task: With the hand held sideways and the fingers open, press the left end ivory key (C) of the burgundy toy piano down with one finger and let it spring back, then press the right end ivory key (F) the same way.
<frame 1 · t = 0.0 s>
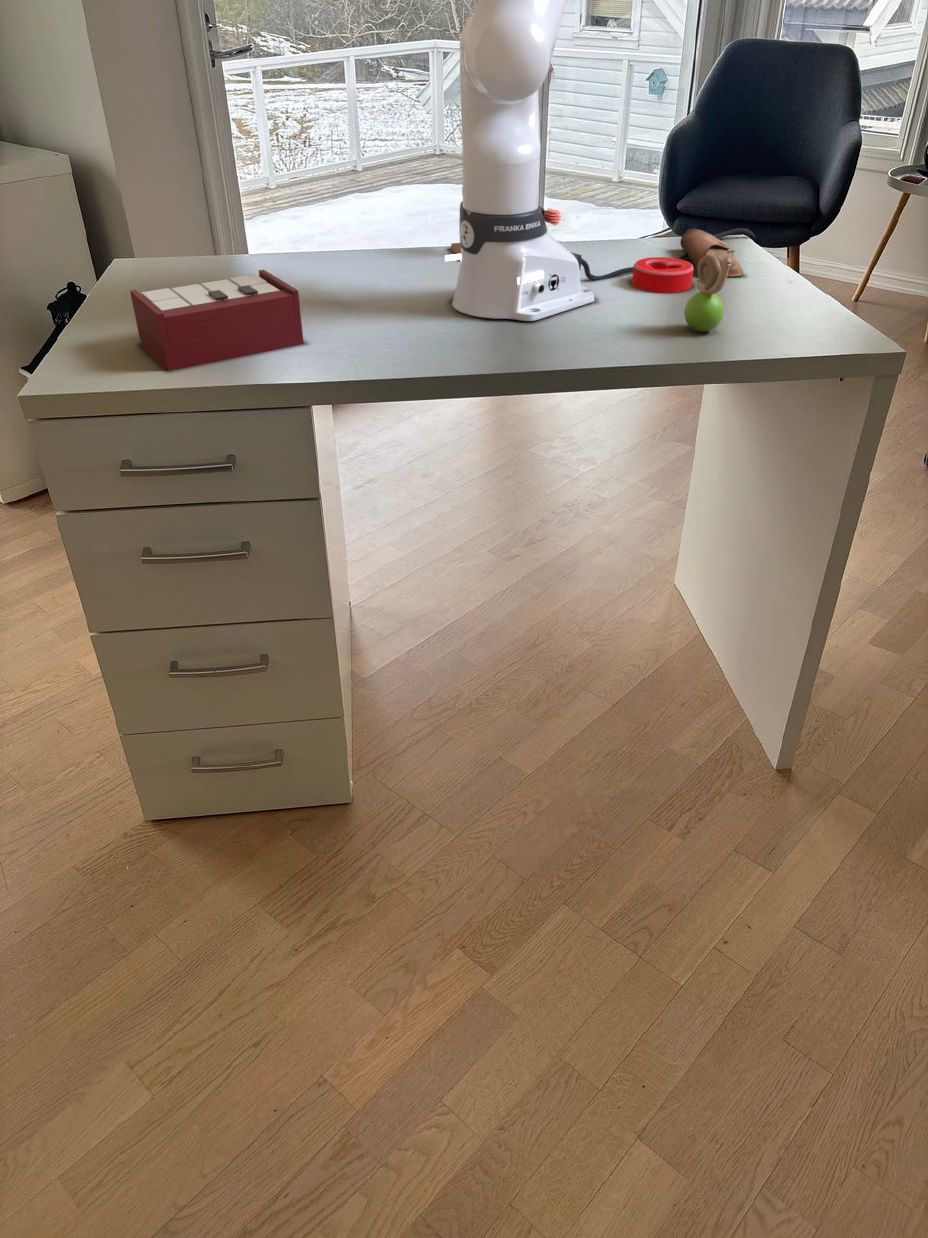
snail figurine: (703, 332, 134), on the table
decorative ornament: (661, 285, 153), on the table
toy piano: (222, 344, 129), on the table
sunglasses case: (710, 264, 163), on the table
c key: (249, 284, 131), point 6 cm above the table, slide at 0.1 cm
gingerbread man figurine: (466, 255, 168), on the table
f key: (160, 299, 126), point 6 cm above the table, slide at 0.1 cm
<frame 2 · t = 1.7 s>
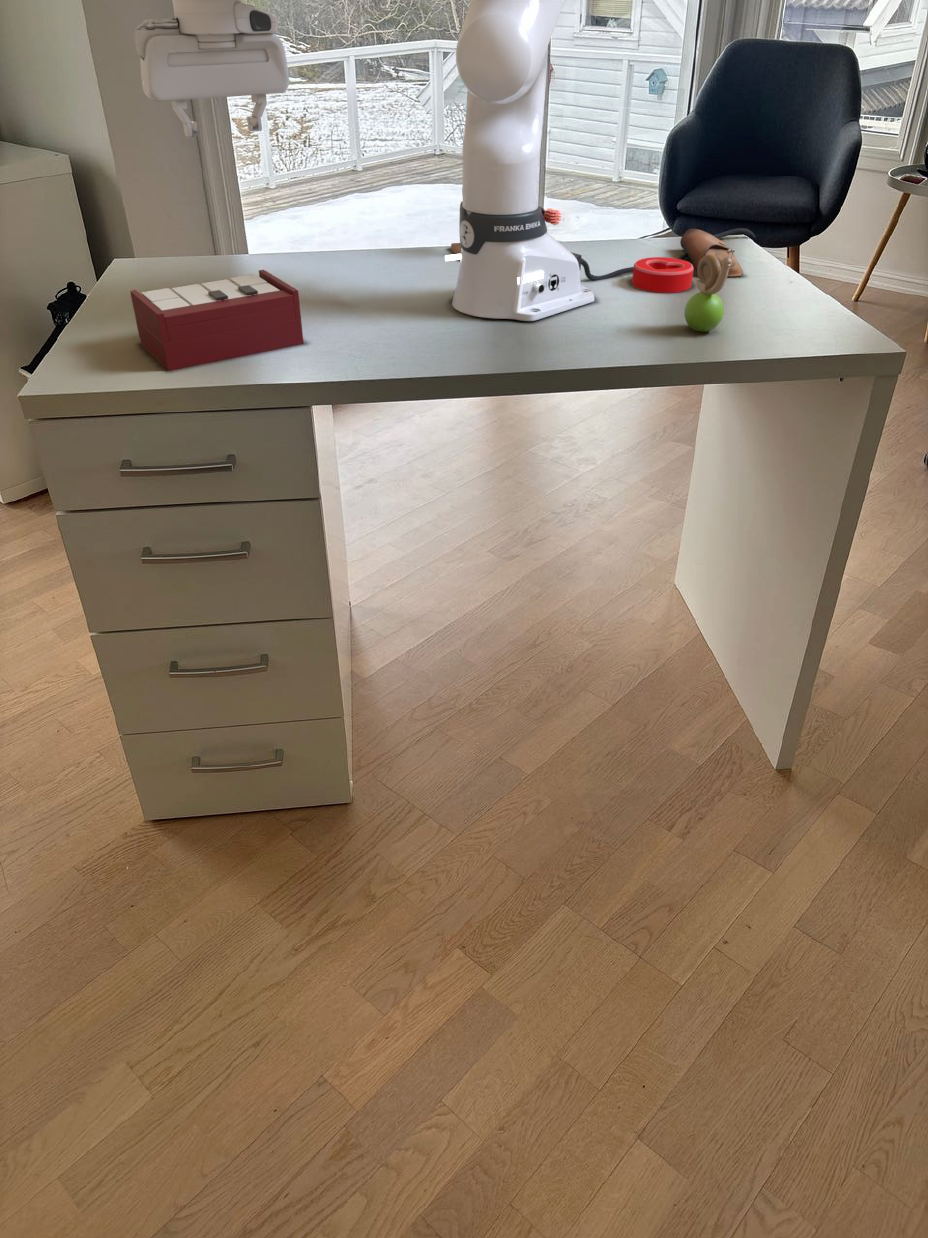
hand: (224, 133, 132), 23 cm above the table, tool pointing down, fingers open, 8 cm apart
nothing on the table moved.
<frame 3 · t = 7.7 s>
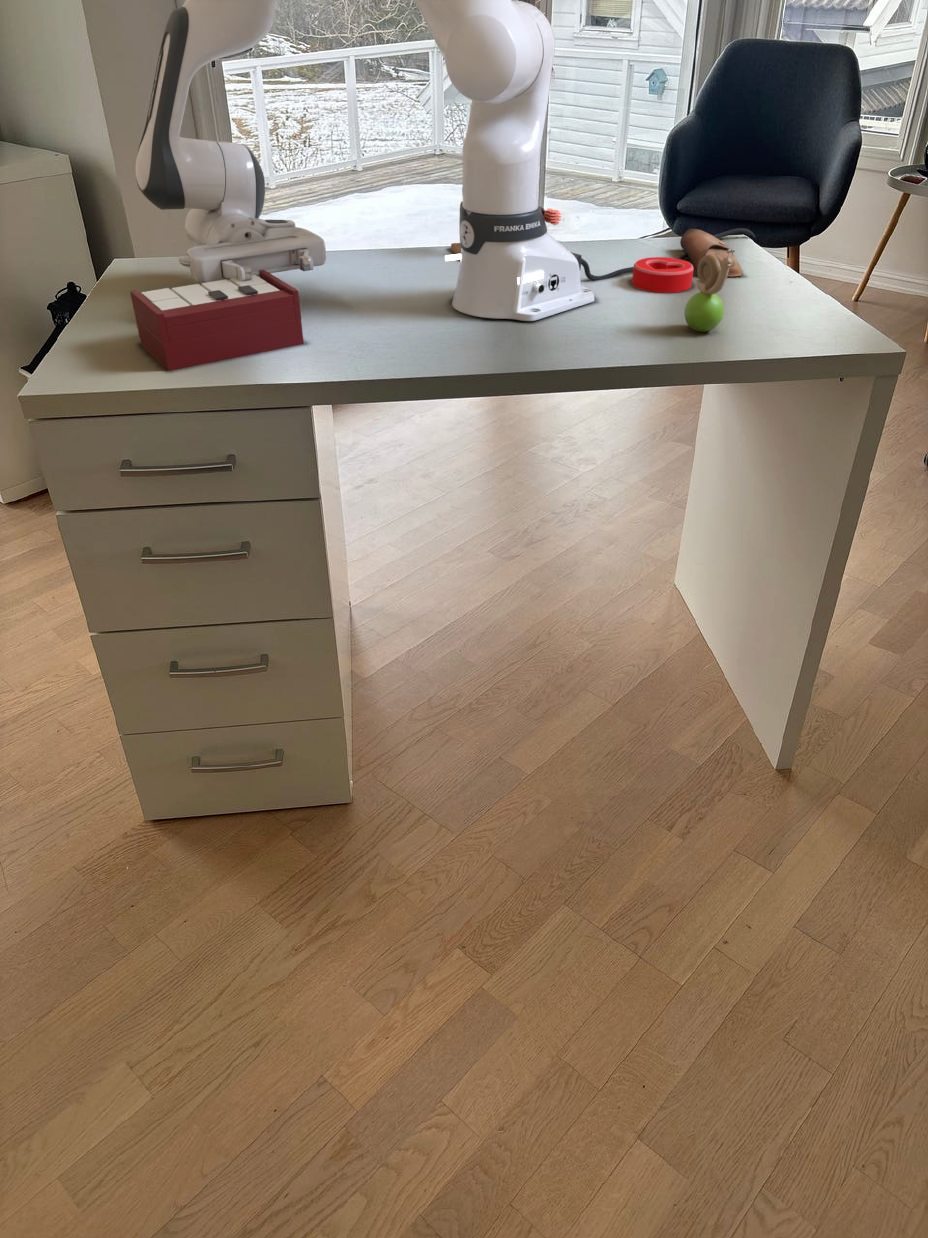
hand: (278, 269, 132), 8 cm above the table, tool horizontal, fingers open, 8 cm apart
c key: (249, 285, 131), point 6 cm above the table, slide at 0.0 cm, touching gripper
everything else where it was.
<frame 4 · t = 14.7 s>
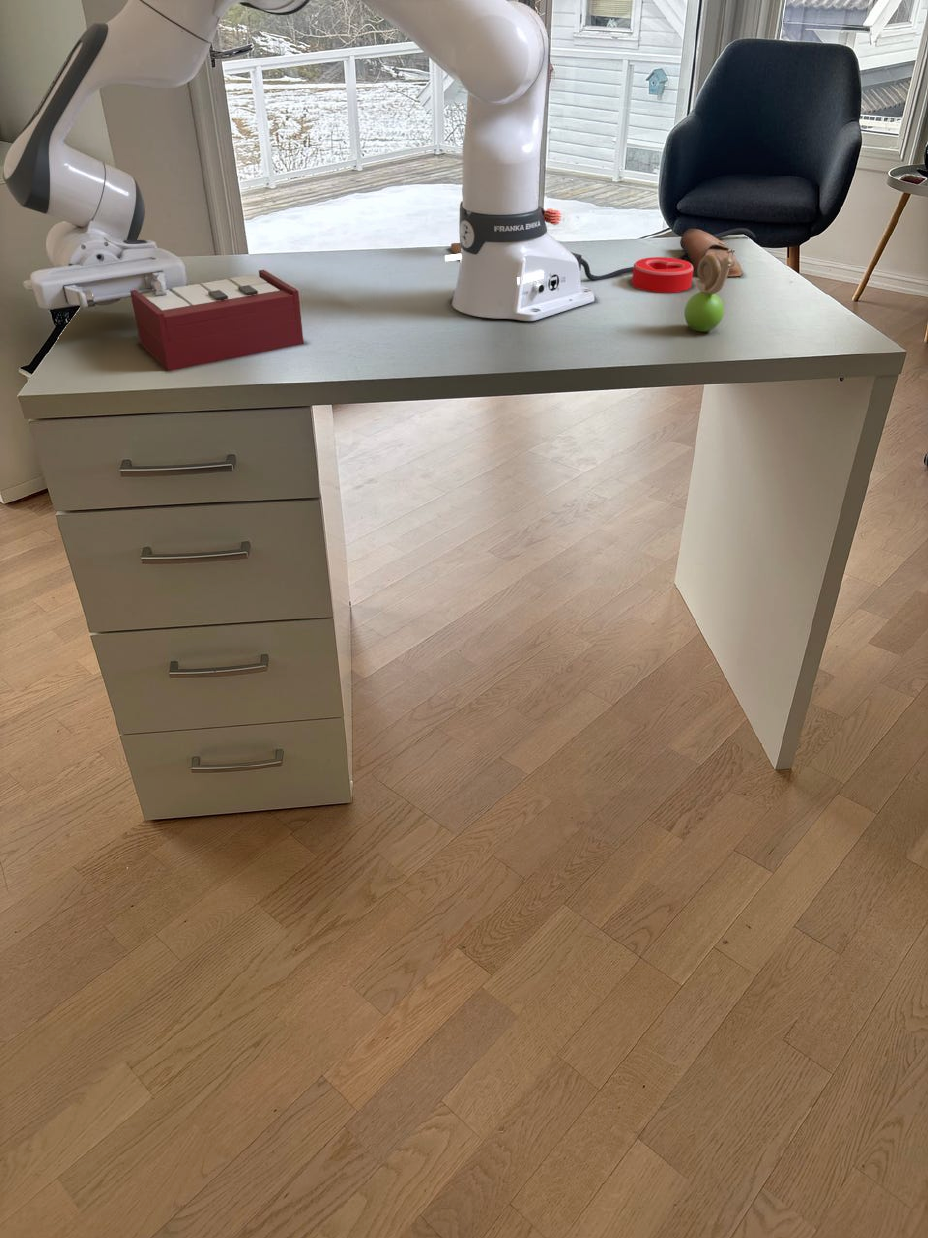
hand: (125, 295, 122), 8 cm above the table, tool horizontal, fingers open, 8 cm apart
c key: (249, 284, 131), point 6 cm above the table, slide at 0.1 cm
f key: (161, 300, 126), point 6 cm above the table, slide at -0.1 cm, touching gripper
everything else where it was.
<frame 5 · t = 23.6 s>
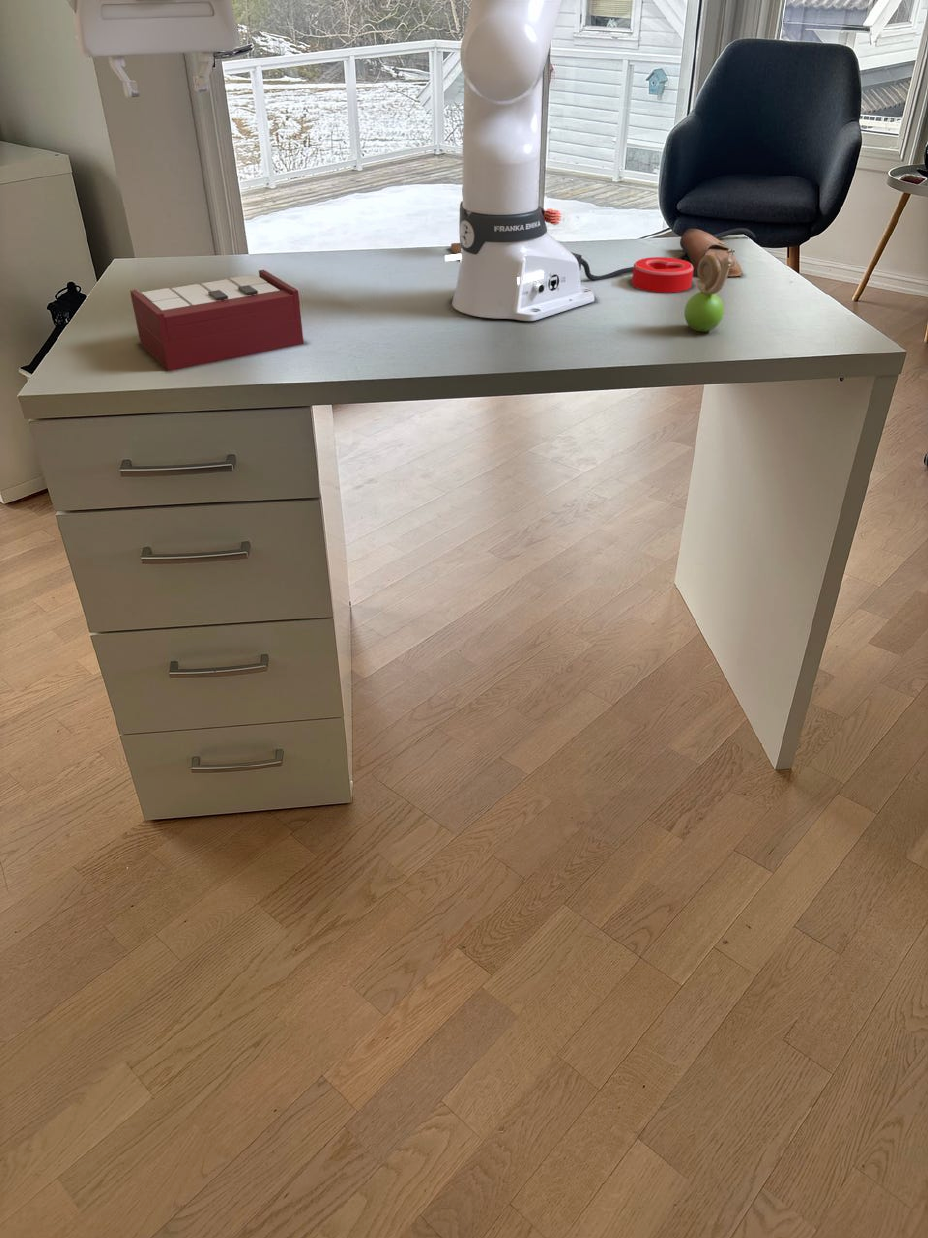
hand: (168, 94, 123), 29 cm above the table, tool pointing down, fingers open, 8 cm apart
f key: (160, 299, 126), point 6 cm above the table, slide at 0.1 cm
everything else where it was.
at the end: c key pushed in 1.4 cm at the most during the clip, back to where it started at the end; f key pushed in 1.3 cm at the most during the clip, back to where it started at the end; f key slide at 0.1 cm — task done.
